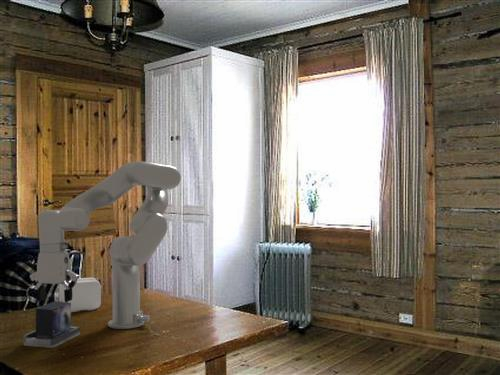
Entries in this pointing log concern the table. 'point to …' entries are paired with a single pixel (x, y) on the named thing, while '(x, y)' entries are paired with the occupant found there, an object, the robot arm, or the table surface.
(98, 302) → the cable organizer
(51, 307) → the small box
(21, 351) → the table surface
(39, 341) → the rail seat
